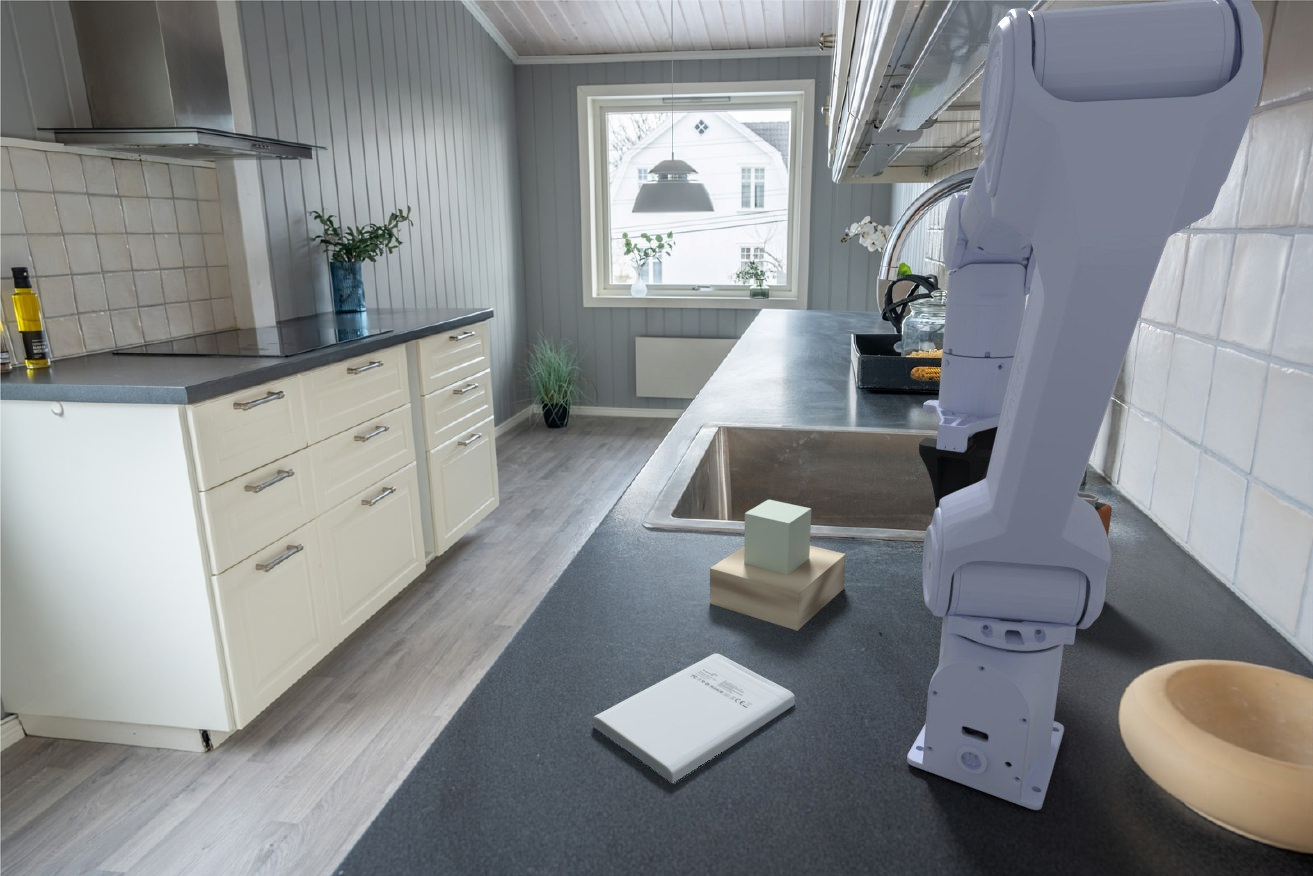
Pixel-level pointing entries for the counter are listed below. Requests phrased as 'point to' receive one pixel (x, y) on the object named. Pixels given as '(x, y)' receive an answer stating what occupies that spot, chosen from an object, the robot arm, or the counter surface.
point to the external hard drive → (694, 714)
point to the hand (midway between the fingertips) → (965, 514)
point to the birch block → (778, 587)
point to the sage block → (777, 536)
